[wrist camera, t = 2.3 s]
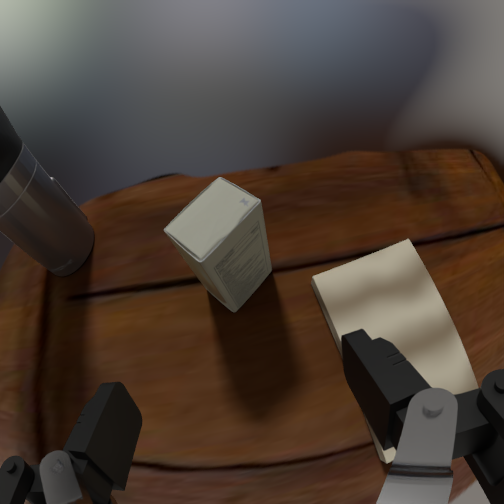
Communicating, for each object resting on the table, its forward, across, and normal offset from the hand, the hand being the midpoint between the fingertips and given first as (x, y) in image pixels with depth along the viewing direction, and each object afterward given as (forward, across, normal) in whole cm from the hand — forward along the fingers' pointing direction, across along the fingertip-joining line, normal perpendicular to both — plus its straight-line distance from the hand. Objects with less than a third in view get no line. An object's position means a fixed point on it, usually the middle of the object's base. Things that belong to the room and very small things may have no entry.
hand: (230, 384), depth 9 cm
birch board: (+13, -14, +12) cm, 23 cm away
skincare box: (+21, 0, +4) cm, 22 cm away
